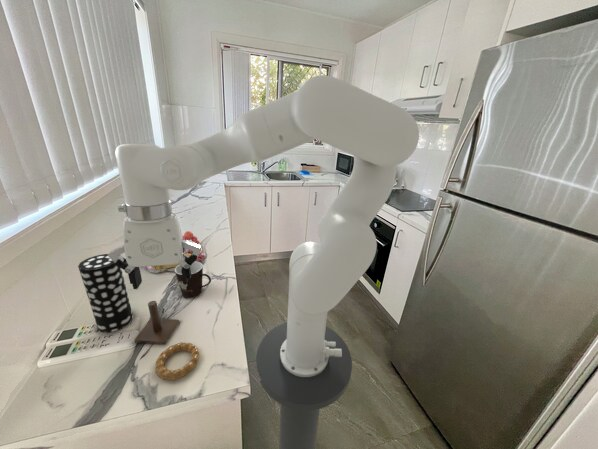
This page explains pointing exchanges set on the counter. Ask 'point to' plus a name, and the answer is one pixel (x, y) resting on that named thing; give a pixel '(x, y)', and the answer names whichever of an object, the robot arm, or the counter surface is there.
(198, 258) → the candy platter
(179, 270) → the coffee mug
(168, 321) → the stand
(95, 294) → the white-spotted black cylinder
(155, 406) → the counter surface
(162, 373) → the ring
